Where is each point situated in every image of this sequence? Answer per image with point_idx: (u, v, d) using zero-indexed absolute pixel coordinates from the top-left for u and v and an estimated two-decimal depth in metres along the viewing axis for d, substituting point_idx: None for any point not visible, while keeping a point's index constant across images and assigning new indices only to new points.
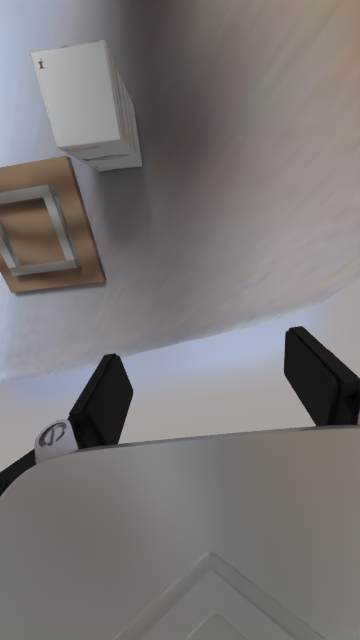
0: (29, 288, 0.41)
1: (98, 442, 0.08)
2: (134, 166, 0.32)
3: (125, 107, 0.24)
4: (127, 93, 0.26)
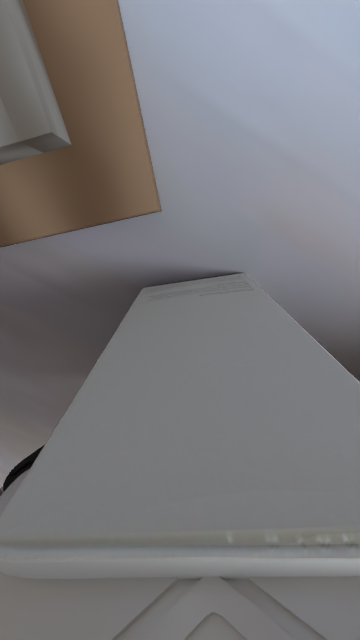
0: None
1: None
2: None
3: None
4: None
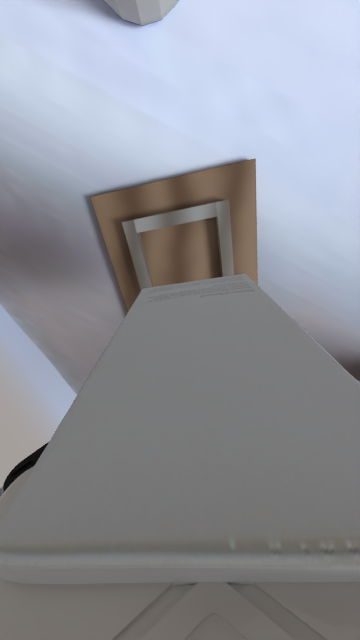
0: (104, 232, 0.27)
1: None
2: None
3: None
4: None
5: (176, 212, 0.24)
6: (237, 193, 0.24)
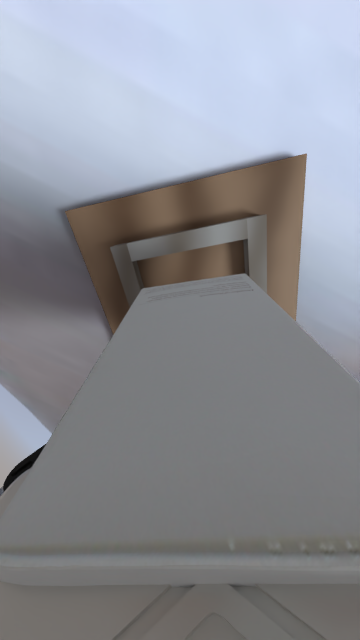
0: (88, 259, 0.19)
1: None
2: None
3: None
4: None
5: (188, 233, 0.16)
6: (276, 204, 0.17)
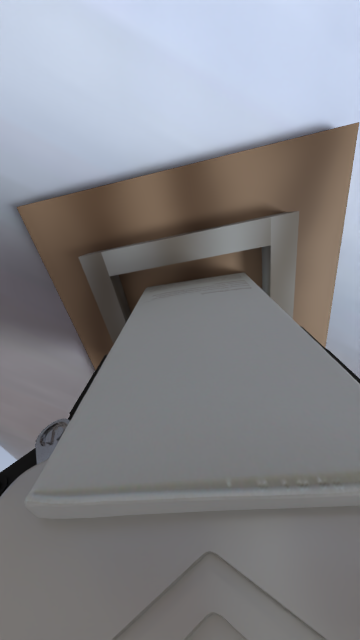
0: (53, 271, 0.14)
1: None
2: None
3: None
4: None
5: (187, 237, 0.12)
6: (309, 197, 0.12)
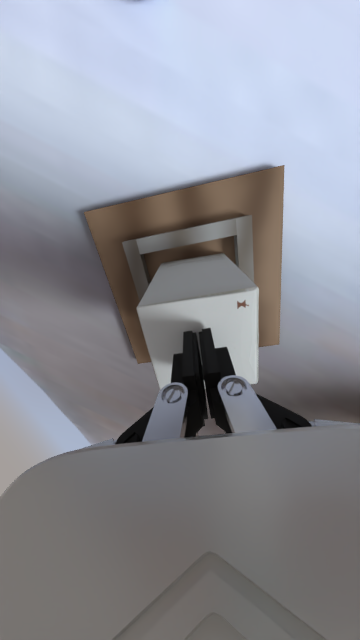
0: (102, 253, 0.23)
1: (200, 406, 0.09)
2: None
3: None
4: None
5: (187, 230, 0.20)
6: (260, 206, 0.20)
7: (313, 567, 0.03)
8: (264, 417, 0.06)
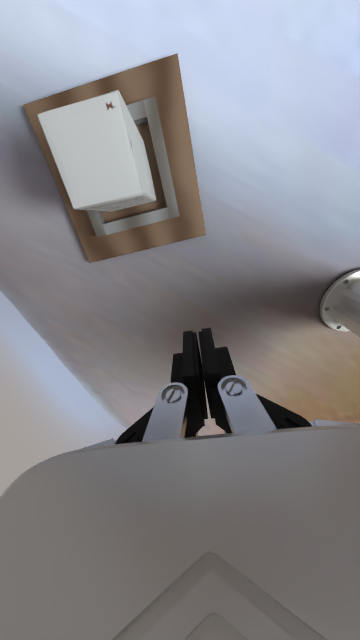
0: (43, 146, 0.27)
1: (200, 406, 0.09)
2: None
3: (128, 203, 0.24)
4: (150, 200, 0.26)
5: None
6: (165, 94, 0.25)
7: (313, 567, 0.03)
8: (264, 417, 0.06)
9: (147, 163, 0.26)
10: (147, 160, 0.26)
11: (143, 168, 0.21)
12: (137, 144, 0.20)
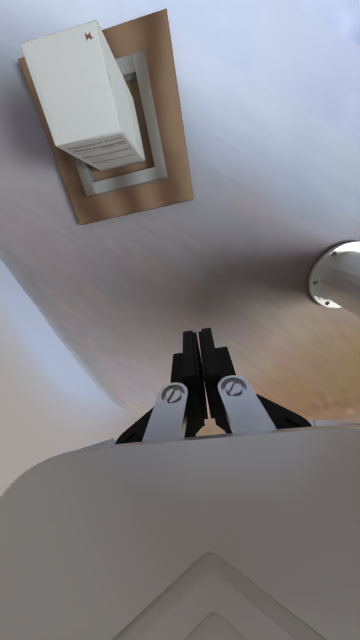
0: (37, 101, 0.28)
1: (200, 406, 0.09)
2: None
3: (112, 152, 0.25)
4: (137, 154, 0.27)
5: None
6: (155, 50, 0.26)
7: (313, 567, 0.03)
8: (264, 417, 0.06)
9: (135, 118, 0.26)
10: (135, 116, 0.27)
11: (126, 113, 0.22)
12: (119, 87, 0.21)
